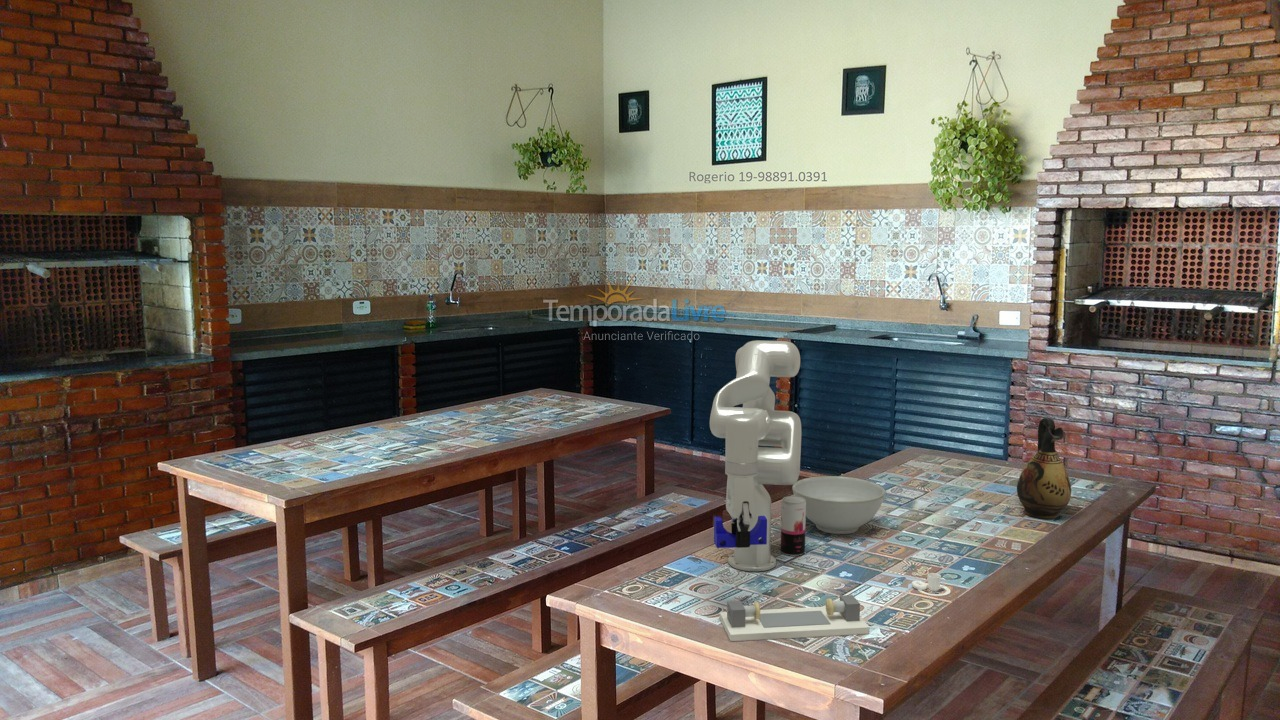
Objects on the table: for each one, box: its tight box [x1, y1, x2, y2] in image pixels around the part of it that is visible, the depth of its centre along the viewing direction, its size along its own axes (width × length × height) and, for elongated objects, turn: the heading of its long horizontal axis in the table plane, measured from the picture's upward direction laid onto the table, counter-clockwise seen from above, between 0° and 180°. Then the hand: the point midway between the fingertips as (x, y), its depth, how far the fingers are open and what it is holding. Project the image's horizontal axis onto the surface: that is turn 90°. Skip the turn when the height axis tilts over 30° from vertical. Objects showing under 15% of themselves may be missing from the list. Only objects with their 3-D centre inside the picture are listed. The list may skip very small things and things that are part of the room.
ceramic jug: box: [1016, 417, 1072, 520], centre depth 287 cm, size 17×15×30 cm
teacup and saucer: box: [911, 572, 951, 597], centre depth 229 cm, size 9×8×4 cm
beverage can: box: [780, 495, 807, 557], centre depth 254 cm, size 7×7×15 cm
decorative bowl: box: [791, 475, 886, 535], centre depth 275 cm, size 27×27×12 cm
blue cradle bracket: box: [713, 516, 767, 549], centre depth 218 cm, size 12×4×6 cm, turn 95°
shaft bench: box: [719, 594, 870, 642], centre depth 208 cm, size 12×31×6 cm, turn 97°
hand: (740, 542), depth 218 cm, fingers closed on blue cradle bracket, 4 cm apart
